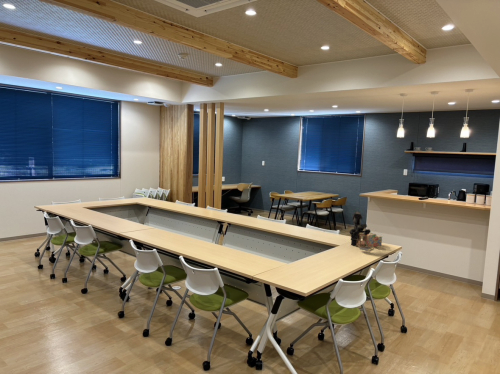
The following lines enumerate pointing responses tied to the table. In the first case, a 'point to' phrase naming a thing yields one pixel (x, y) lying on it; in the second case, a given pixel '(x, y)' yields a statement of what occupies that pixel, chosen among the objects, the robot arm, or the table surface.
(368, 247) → the dock
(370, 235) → the stack of blocks
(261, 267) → the table surface
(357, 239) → the open wooden box
